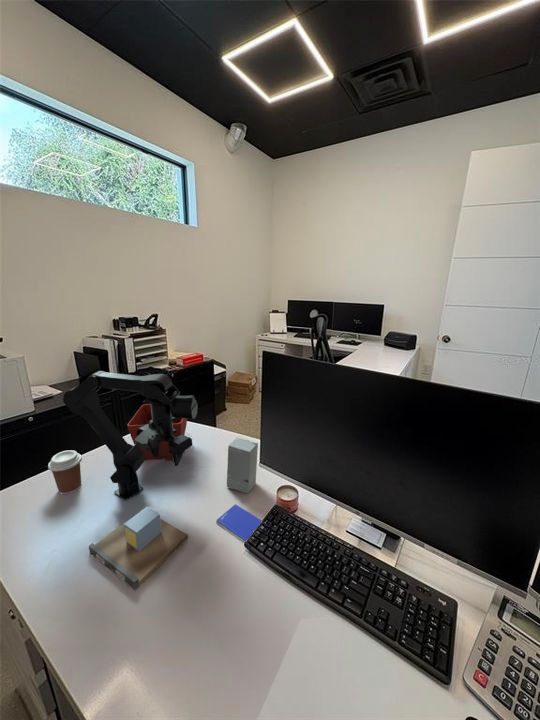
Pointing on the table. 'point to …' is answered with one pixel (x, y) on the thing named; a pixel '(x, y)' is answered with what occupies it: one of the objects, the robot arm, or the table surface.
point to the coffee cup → (66, 471)
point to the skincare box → (242, 465)
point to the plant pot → (143, 419)
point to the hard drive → (239, 522)
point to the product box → (142, 528)
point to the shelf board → (137, 553)
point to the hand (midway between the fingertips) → (166, 461)
